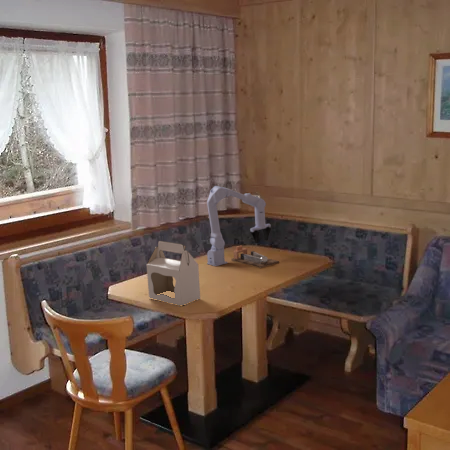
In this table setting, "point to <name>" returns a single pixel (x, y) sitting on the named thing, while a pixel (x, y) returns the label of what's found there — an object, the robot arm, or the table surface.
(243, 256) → the base
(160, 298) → the gable box
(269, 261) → the walnut board
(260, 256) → the tongs arm
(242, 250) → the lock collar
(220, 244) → the robot arm
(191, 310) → the table surface
